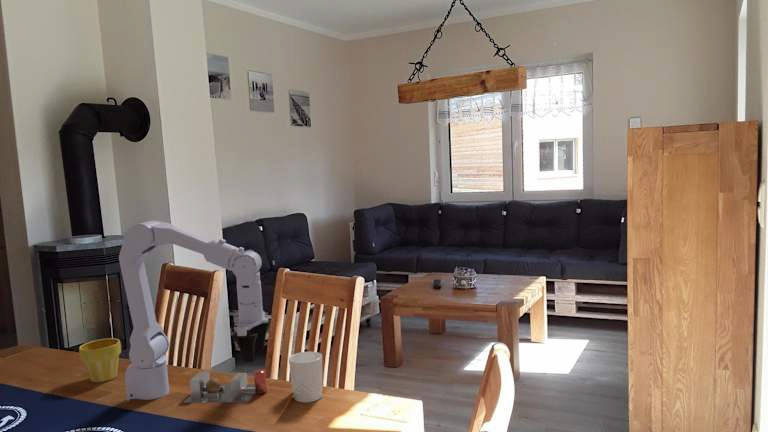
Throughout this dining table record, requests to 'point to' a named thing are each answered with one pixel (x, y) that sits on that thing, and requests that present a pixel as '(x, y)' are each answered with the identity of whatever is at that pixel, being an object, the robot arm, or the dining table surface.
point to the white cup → (306, 376)
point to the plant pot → (101, 358)
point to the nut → (213, 385)
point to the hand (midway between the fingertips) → (254, 356)
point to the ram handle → (241, 382)
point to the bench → (223, 395)
